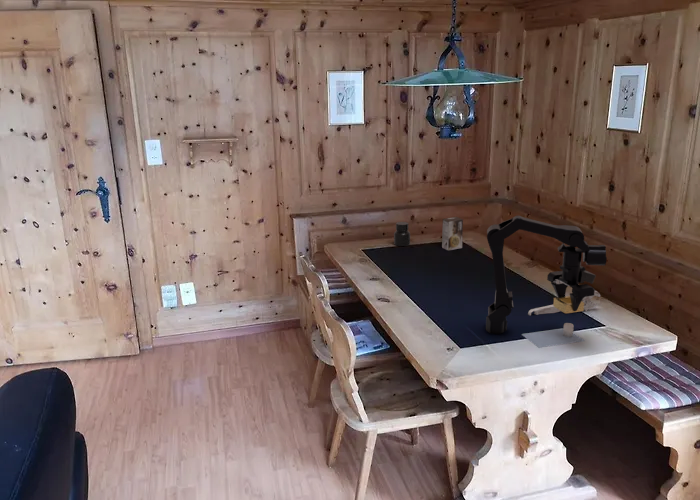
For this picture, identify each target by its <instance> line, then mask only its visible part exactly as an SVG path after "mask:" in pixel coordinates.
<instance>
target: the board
mask: <svg viewBox="0 0 700 500" xmlns="http://www.w3.org/2000/svg"><path fill="white" fill-rule="evenodd" d="M521 336H523V338H526V340H528V341H529V342H531V343H532V344H533V345H534V346H536V348H538V349H540V348H541V349H542V348H547V347H554V346H560V345H567V344H573V343H579V342H580V343H581V342H585V341H586V340H585V339H583V338H582V337H580V336H579V335H577V334H576V333H574V324H573V323H571V322H565V323H564V324H563V328H554V329H550V330H549V329H548V330H543V331H535V332H534V331H533V332H529V333H528V332H527V333H522V334H521Z"/></svg>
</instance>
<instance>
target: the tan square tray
mask: <svg viewBox="0 0 700 500" xmlns="http://www.w3.org/2000/svg"><path fill="white" fill-rule="evenodd" d="M552 305H553V306H554V307H556V308H557V309H559V310H560V312H562V313H564V314H572V313H577V312H585V310H584V302H582V301H581V303H580V305H579V307H578V309H577V311H573V308H572V304H571V298H570V295H565V297H558V296H557V297H553V304H552Z"/></svg>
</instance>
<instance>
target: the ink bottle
mask: <svg viewBox="0 0 700 500" xmlns="http://www.w3.org/2000/svg"><path fill="white" fill-rule="evenodd" d="M393 244H394V245H395V246H397V247H408V246H410V244H411V232H410V231H409V222H406V221H398V222H396V223H395V231H394V233H393Z"/></svg>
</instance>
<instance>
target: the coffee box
mask: <svg viewBox="0 0 700 500" xmlns="http://www.w3.org/2000/svg"><path fill="white" fill-rule="evenodd" d="M463 222H464V219H462V218H461V217H458V216H453V217H447V218H442V233H441V234H442V235H441V237H442V239H441V241H442V242H441V247H442V249H444V250H446V251H453V250H457V249H463V235H464V233H463V232H464V231H463V229H464V227H463V225H464V223H463Z"/></svg>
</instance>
